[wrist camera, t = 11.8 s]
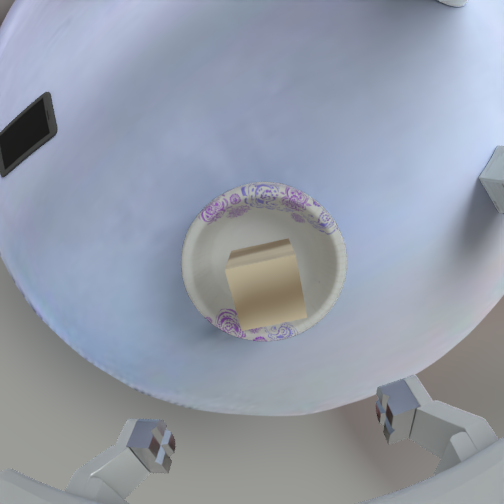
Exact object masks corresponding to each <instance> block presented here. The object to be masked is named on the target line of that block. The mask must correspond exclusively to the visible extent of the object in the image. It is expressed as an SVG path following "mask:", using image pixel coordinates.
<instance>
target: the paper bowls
mask: <svg viewBox="0 0 504 504" xmlns="http://www.w3.org/2000/svg"><path fill="white" fill-rule="evenodd" d="M288 238H289V241H290V243H291V245H292V247H293V250H294V252H295V254H296V259H297V264H298V269H299V275H300V280H301V285H302V291H303V296H304V302H305V308H306V313H307V318H303V319H299V320H294V321H290V322H285V323H280V324H275V325H270V326H265V327H260V328H255V329H249V330H244V331H242V330H241V326H240V323H239V319H238V316H237V312H236V309H235V305H234V302H233V298H232V295H231V291H230V288H229V284H228V280H227V277H226V273H225V267H226V264H227V261H228V259H229V256H230V253H231V251H233V250H237V249H242V248H247V247H251V246H256V245H260V244H265V243H269V242H274V241H278V240H283V239H288ZM346 270H347V255H346V249H345V244H344V240H343V237H342V235H341V232H340V230H339V228H338V226H337V224H336V222H335V221H334V219H333V218H332V216H331V215H330V214H329V213H328V212H327V211H326V209H325V208H324V207H323V206H322V205H320V204H319V203H318V202H317V201H316V200H314V199H313V198H312V197H310V196H309V195H307V194H305V193H304V192H302V191H300V190H298V189H295V188H293V187H291V186H288V185H285V184H281V183H274V182H255V183H249V184H245V185H242V186H239V187H236V188H233V189H231V190H229V191H227V192H225V193H223V194H222V195H220V196H218V197H217V198H215V199H214V200H212V201H211V202H210V203H209V204H208V205H207V206H206V207H205V208H204V209H203V210H202V211H201V212H200V213H199V214H198V215H197V217H196V218H195V220H194V221H193V222H192V224H191V226H190V228H189V229H188V231H187V234H186V236H185V239H184V243H183V247H182V254H181V271H182V277H183V282H184V285H185V288H186V291H187V293H188V295H189V297H190V299H191V301H192V302H193V304H194V305H195V307H196V308H197V310H198V311H199V312H200V313H201V314H202V315H203V316H204V318H206V319H207V320H208V321H209V322H210V323H212V324H213V325H214V326H215V327H217V328H219V329H220V330H222V331H224V332H226V333H228V334H230V335H233V336H236V337H239V338H242V339H247V340H253V341H275V340H281V339H286V338H289V337H293V336H295V335H298V334H300V333H302V332H304V331H306V330H308V329H309V328H311V327H312V326H314V325H315V324H317V323H318V322H319V321H320V320H321V319H322V318H323V317H324V316H325V315H326V314H327V313H328V312H329V311H330V309H331V308H332V307H333V305H334V304H335V302H336V301H337V299H338V297H339V295H340V293H341V290H342V288H343V285H344V282H345V277H346Z"/></svg>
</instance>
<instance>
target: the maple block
mask: <svg viewBox="0 0 504 504" xmlns="http://www.w3.org/2000/svg"><path fill="white" fill-rule="evenodd" d="M225 273H226V277H227V280H228V284H229V288H230V291H231V295H232V298H233V302H234V305H235V309H236V312H237V316H238V319H239V323H240V326H241V330H242V331H244V330H249V329H255V328H260V327H265V326H270V325H275V324H280V323H285V322H290V321H294V320H299V319H303V318H307V313H306V308H305V302H304V296H303V291H302V285H301V280H300V275H299V269H298V264H297V259H296V254H295V252H294V250H293V247H292V245H291V243H290V241H289V238H288V239H283V240H278V241H274V242H269V243H265V244H260V245H256V246H251V247H247V248H242V249H237V250H233V251H231V253H230V256H229V259H228V261H227V264H226V267H225Z"/></svg>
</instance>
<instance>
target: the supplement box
mask: <svg viewBox="0 0 504 504" xmlns="http://www.w3.org/2000/svg"><path fill="white" fill-rule="evenodd" d="M479 180H480V181H481V183H482V185H483V186H484V188H485V190H486V191H487V193H488V195H489V196H490V198H491V200H492V202H493V204H494V205H495V207H496V209H497V211H498V212H499V213H503V214H504V146H497V148H496V150H495V152H494V154H493V155H492V157H491V159H490V161H489V162H488V164H487V165H486V167H485V169H484V170H483V172H482V173H481V175H480V176H479Z"/></svg>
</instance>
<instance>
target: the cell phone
mask: <svg viewBox="0 0 504 504" xmlns="http://www.w3.org/2000/svg"><path fill="white" fill-rule="evenodd" d="M56 133H57V124H56V119H55V114H54V109H53V104H52V99H51V94H50V93H49V92H45V93H44V94H42V95H41V96H40V97H39V98H37V99H36V100H35V101H34V102H33V103H32V104H30V105H29V106H28V107H27V108H26V109H25V110H23V111H22V112H21V113H20V114H19V115H18V116H17V117H16V118H15V119H14V120H13V121H12V122H10V123H9V124H8V125H7V126H6V127H5V128H4V129H3V130H2V131H1V132H0V174H1V176H2V177H5V176H6V175H7V174H8V173H9V172H11V171H12V170H13V169H14V168H15V167H16V166H17V165H19V164H20V163H21V162H22V161H23V160H24V159H26V158H27V157H28V156H29V155H30V154H32V153H33V152H34V151H35V150H37V149H38V148H39V147H41V146H42V145H43V144H44V143H46V142H47V141H48V140H50V139H51V138H52V137H54V136H55V135H56Z"/></svg>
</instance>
